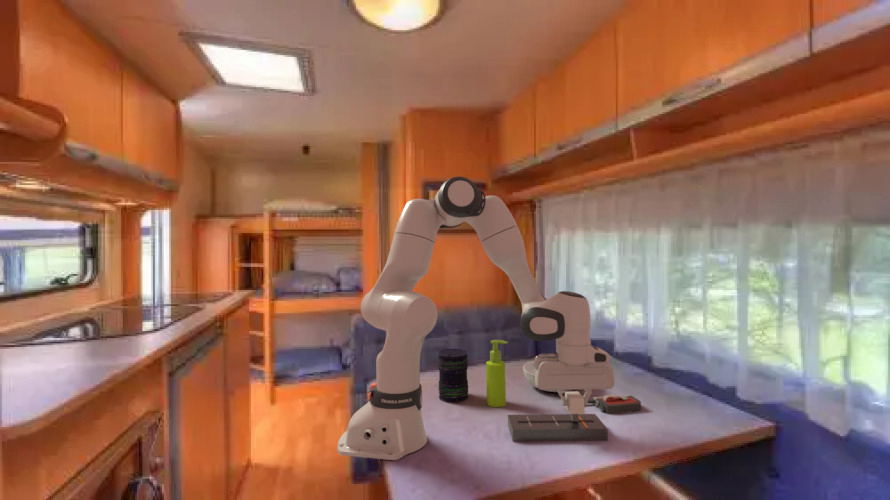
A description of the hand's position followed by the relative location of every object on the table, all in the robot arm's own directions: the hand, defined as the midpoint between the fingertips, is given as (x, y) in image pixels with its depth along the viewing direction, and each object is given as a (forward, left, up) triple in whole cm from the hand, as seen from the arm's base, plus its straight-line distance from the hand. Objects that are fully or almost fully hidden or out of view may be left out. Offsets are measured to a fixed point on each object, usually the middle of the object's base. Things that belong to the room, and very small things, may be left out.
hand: (574, 405), depth 106 cm
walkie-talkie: (+15, +16, -8) cm, 23 cm away
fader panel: (-5, 0, -7) cm, 9 cm away
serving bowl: (+3, +34, -8) cm, 35 cm away
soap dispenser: (-18, +20, -8) cm, 28 cm away
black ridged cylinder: (-32, +26, -8) cm, 42 cm away
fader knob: (0, 0, -4) cm, 4 cm away
